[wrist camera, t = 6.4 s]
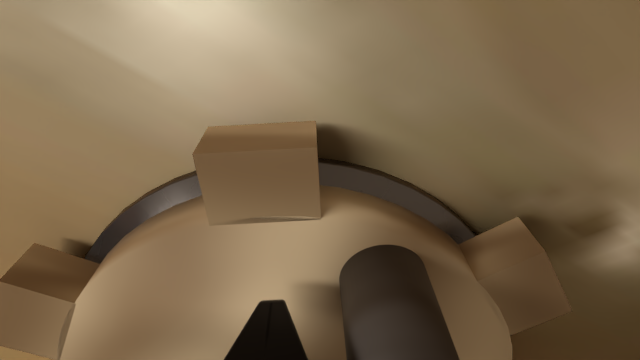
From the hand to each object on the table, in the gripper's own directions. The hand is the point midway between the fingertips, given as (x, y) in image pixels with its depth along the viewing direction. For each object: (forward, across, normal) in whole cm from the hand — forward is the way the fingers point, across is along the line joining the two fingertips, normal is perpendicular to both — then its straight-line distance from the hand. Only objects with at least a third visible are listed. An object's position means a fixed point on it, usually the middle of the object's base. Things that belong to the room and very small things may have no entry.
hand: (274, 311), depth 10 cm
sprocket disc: (+3, 0, +6) cm, 6 cm away
